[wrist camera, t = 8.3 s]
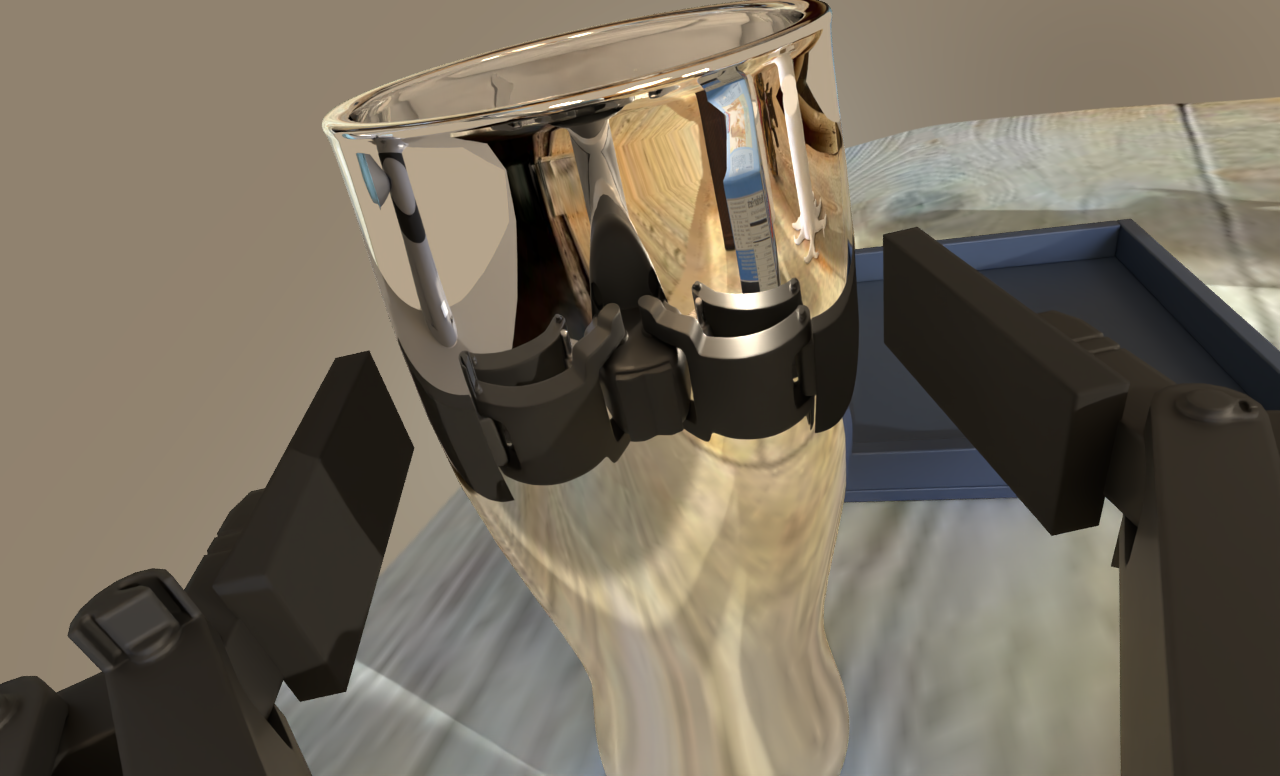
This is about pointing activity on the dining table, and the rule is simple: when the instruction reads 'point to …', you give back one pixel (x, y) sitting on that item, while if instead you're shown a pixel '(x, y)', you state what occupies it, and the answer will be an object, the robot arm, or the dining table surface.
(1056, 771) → the dining table surface
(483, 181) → the beer glass
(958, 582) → the dining table surface
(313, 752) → the dining table surface
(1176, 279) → the dark blue tray
